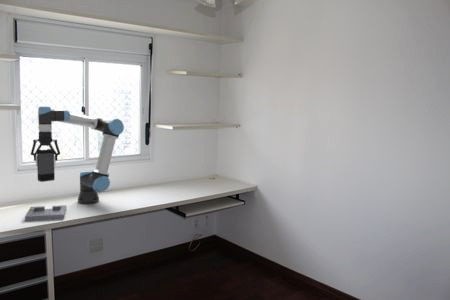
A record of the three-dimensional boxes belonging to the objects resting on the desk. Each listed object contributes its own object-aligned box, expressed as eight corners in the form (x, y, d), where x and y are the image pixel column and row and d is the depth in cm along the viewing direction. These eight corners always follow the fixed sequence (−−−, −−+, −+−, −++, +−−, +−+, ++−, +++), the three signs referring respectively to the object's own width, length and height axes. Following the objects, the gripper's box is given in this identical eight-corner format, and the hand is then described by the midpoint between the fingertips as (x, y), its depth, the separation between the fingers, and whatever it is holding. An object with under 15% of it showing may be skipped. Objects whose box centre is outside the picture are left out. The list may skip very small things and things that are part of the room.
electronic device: (51, 178, 248) (50, 148, 246) (55, 180, 245) (55, 149, 242) (36, 180, 241) (36, 149, 239) (41, 182, 238) (40, 150, 235)
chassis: (66, 209, 260) (66, 204, 259) (63, 219, 239) (63, 213, 239) (30, 211, 253) (30, 205, 252) (25, 221, 232) (24, 215, 232)
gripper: (64, 130, 246) (65, 164, 249) (26, 130, 239) (27, 165, 242) (63, 131, 239) (64, 166, 242) (24, 131, 232) (25, 167, 235)
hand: (45, 165), depth 242 cm, fingers closed on electronic device, 10 cm apart
